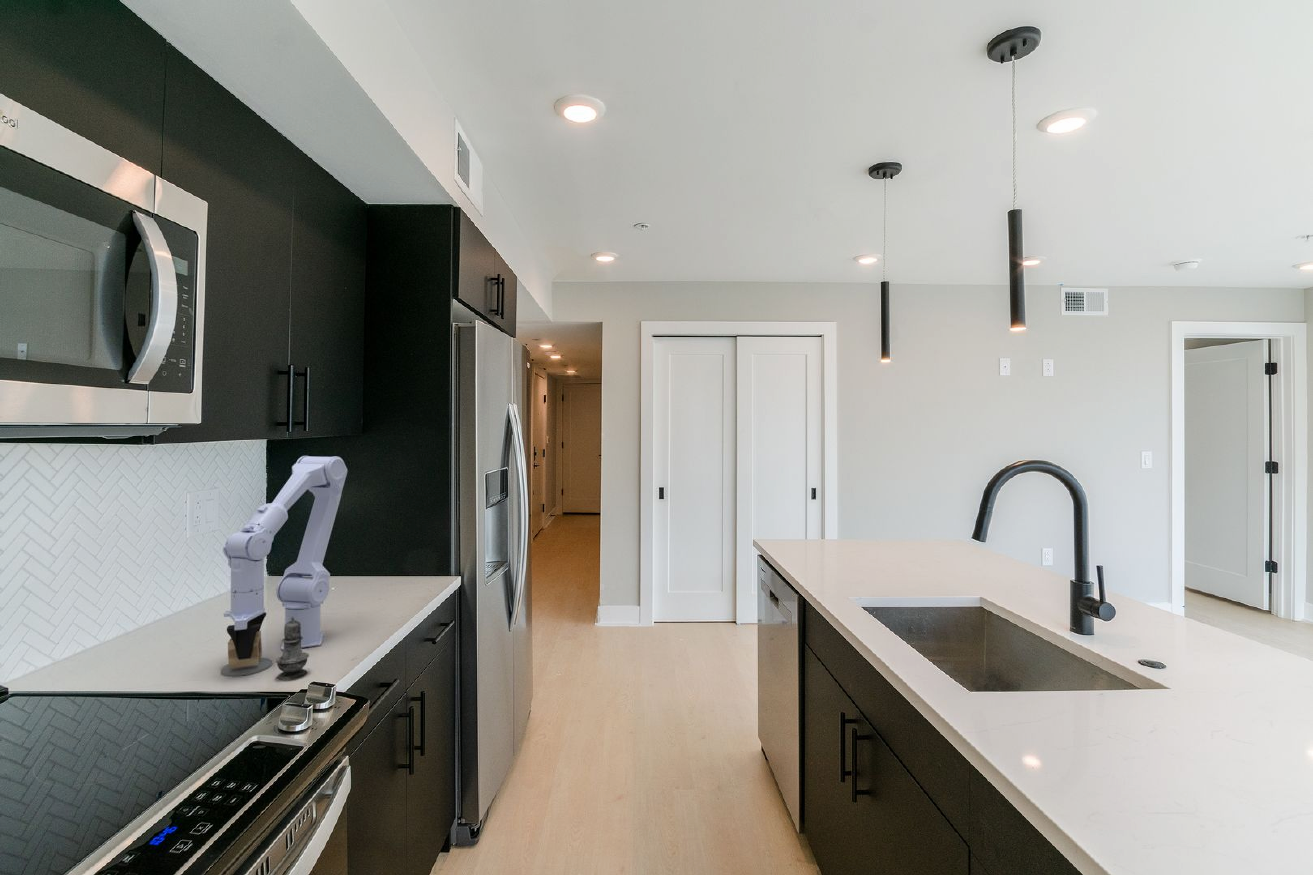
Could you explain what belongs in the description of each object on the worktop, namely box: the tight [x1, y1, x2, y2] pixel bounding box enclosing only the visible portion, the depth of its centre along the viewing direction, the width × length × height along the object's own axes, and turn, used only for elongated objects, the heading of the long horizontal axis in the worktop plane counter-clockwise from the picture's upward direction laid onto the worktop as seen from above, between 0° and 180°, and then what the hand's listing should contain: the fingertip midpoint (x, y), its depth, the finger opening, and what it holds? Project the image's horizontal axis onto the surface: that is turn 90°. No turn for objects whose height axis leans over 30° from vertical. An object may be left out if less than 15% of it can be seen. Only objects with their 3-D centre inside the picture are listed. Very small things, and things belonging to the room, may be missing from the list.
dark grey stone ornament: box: [275, 617, 310, 681], centre depth 122 cm, size 6×6×12 cm
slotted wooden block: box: [227, 630, 263, 669], centre depth 125 cm, size 5×5×6 cm
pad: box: [220, 657, 274, 677], centre depth 125 cm, size 9×9×1 cm
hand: (247, 653), depth 125 cm, fingers closed on slotted wooden block, 5 cm apart
